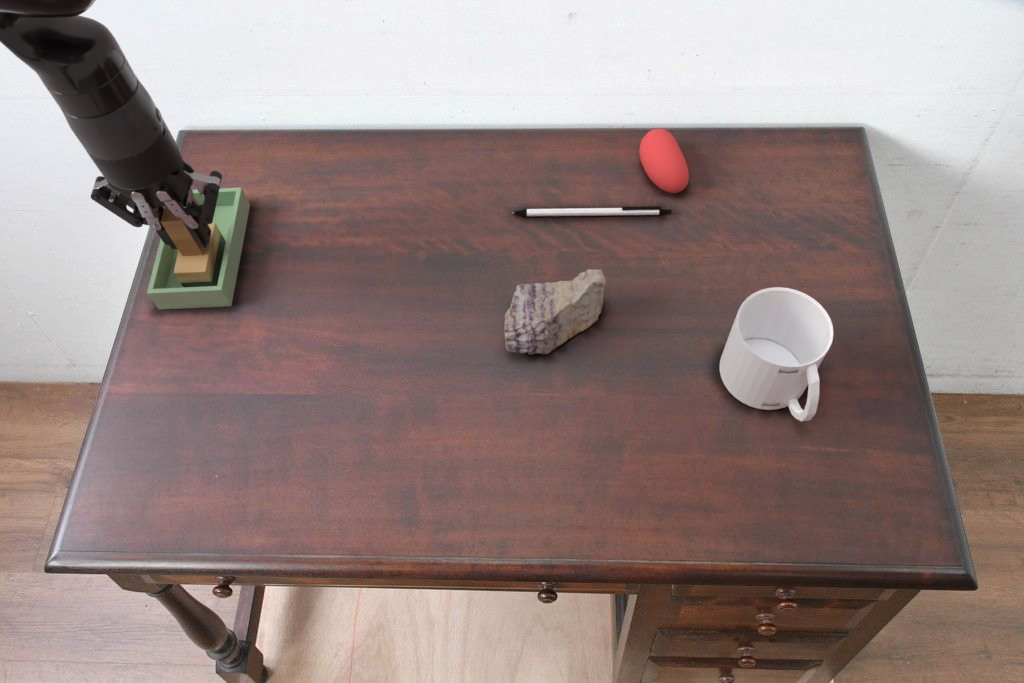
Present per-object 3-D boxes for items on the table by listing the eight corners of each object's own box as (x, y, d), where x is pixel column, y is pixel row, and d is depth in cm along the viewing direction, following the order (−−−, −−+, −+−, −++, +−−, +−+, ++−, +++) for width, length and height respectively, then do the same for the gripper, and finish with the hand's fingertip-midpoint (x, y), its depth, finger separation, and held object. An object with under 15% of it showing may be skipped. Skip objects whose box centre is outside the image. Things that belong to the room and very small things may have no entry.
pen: (671, 216, 96) (672, 210, 95) (512, 218, 96) (512, 212, 95) (670, 210, 96) (671, 204, 95) (512, 212, 97) (512, 206, 96)
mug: (708, 343, 86) (724, 294, 78) (789, 331, 87) (813, 281, 79) (741, 444, 80) (763, 401, 72) (828, 430, 80) (860, 386, 72)
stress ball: (633, 202, 99) (659, 183, 93) (628, 133, 100) (653, 111, 94) (669, 205, 101) (697, 187, 95) (664, 138, 102) (690, 116, 96)
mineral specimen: (572, 273, 92) (574, 238, 86) (612, 314, 89) (616, 281, 83) (482, 328, 88) (478, 296, 83) (520, 373, 85) (518, 343, 80)
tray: (231, 306, 91) (221, 289, 88) (158, 309, 91) (146, 293, 88) (250, 205, 99) (241, 187, 96) (183, 208, 99) (172, 190, 96)
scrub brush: (216, 289, 92) (184, 238, 83) (185, 290, 92) (150, 239, 83) (225, 240, 95) (195, 187, 87) (195, 242, 95) (163, 188, 87)
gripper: (36, 161, 73) (122, 272, 88) (187, 154, 73) (248, 266, 87) (58, 103, 77) (137, 219, 91) (201, 96, 76) (257, 213, 91)
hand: (191, 242), depth 89 cm, fingers closed on scrub brush, 2 cm apart
